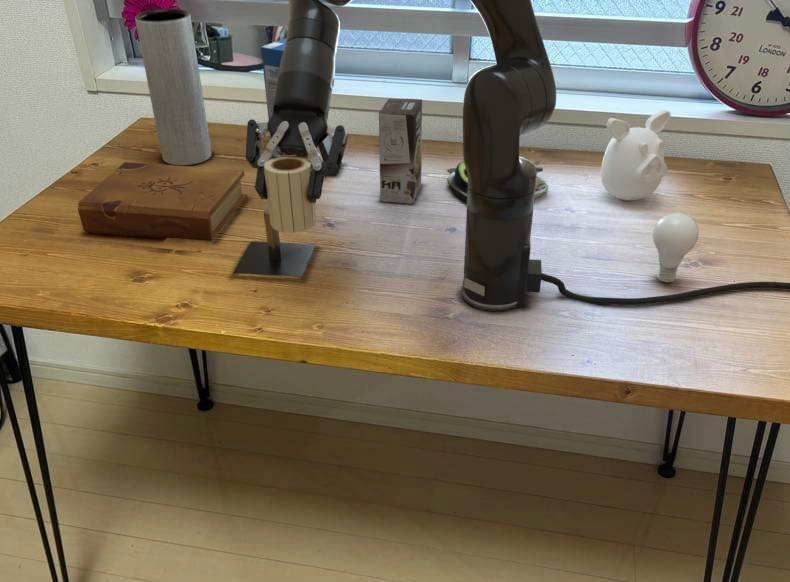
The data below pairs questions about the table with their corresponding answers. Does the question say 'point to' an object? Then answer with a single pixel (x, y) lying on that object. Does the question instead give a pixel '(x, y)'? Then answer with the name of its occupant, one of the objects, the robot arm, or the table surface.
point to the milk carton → (271, 70)
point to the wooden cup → (289, 194)
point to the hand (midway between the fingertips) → (286, 198)
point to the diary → (163, 201)
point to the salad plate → (460, 182)
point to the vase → (174, 85)
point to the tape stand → (274, 255)
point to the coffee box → (400, 150)
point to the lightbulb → (673, 242)
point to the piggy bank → (634, 158)
